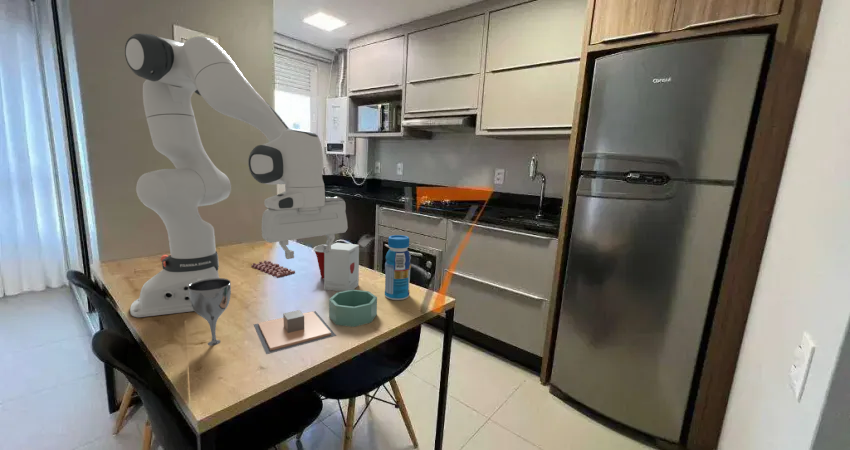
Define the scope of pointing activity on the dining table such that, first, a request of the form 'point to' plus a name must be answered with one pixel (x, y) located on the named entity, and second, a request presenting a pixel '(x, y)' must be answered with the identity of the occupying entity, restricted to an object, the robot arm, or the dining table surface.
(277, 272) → the chocolate bar
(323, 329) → the cover
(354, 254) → the supplement box
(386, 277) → the beverage bottle
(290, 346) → the mat
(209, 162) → the robot arm
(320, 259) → the plastic cup
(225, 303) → the wine glass
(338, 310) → the bowl
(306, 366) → the dining table surface
